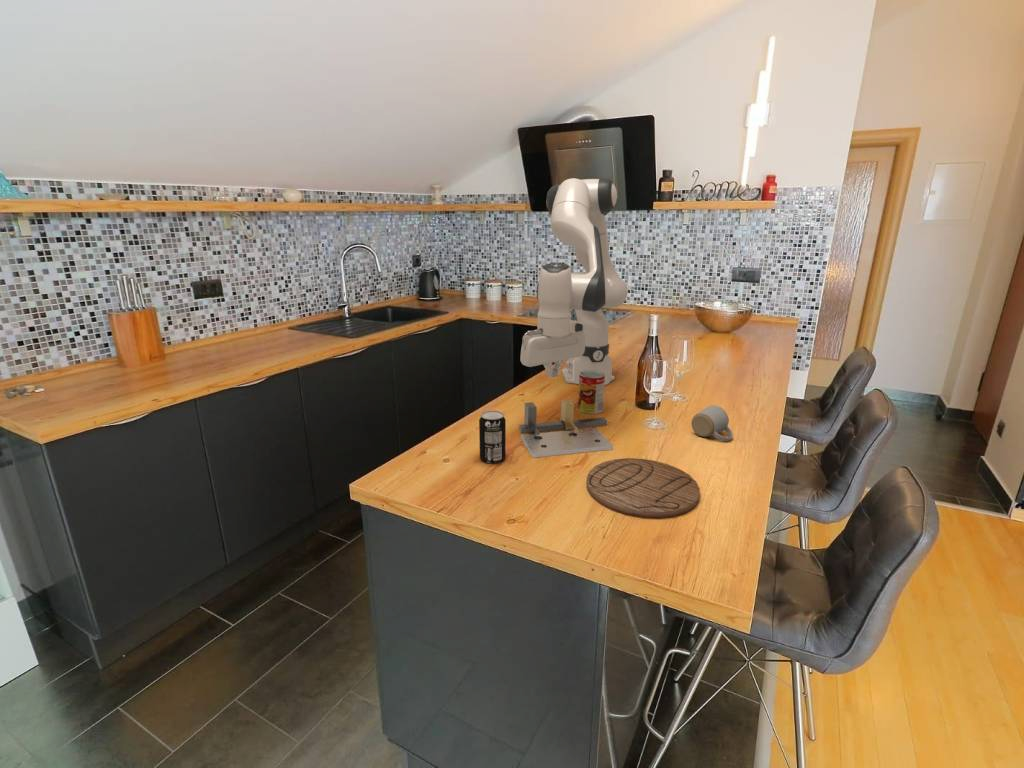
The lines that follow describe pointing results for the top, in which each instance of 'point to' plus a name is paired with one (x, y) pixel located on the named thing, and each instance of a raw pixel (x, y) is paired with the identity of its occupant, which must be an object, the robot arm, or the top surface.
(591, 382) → the canned food
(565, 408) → the sliding leg
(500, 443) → the beverage can
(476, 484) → the top surface
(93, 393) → the top surface
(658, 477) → the trivet
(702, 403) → the top surface
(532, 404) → the rail
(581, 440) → the bolt plate
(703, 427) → the ceramic mug
